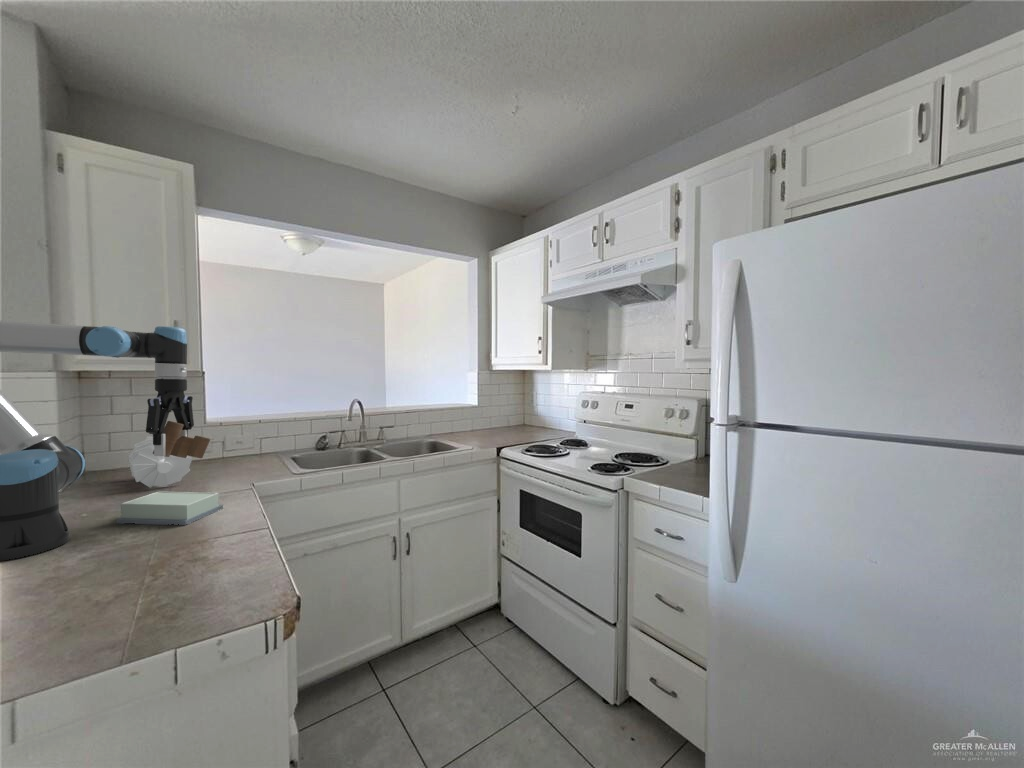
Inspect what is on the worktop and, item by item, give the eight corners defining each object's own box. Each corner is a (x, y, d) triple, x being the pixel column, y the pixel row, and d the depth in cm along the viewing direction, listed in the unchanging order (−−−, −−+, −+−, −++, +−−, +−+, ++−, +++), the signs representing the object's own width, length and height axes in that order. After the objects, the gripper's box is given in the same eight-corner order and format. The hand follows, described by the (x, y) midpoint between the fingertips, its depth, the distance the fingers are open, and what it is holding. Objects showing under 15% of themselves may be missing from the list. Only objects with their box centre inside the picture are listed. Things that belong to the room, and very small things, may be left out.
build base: (185, 525, 117) (185, 506, 117) (115, 523, 118) (115, 504, 118) (222, 508, 131) (222, 491, 131) (160, 507, 132) (159, 490, 132)
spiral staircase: (149, 502, 149) (142, 484, 166) (203, 473, 160) (191, 460, 177) (117, 460, 142) (114, 447, 160) (176, 434, 153) (167, 424, 171)
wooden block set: (206, 465, 125) (220, 432, 129) (176, 459, 118) (192, 425, 121) (168, 456, 132) (183, 425, 135) (138, 450, 124) (154, 418, 127)
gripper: (154, 378, 115) (154, 460, 115) (208, 378, 135) (208, 447, 135) (127, 378, 115) (127, 459, 115) (185, 377, 135) (185, 446, 136)
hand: (171, 453), depth 125 cm, fingers closed on wooden block set, 7 cm apart
